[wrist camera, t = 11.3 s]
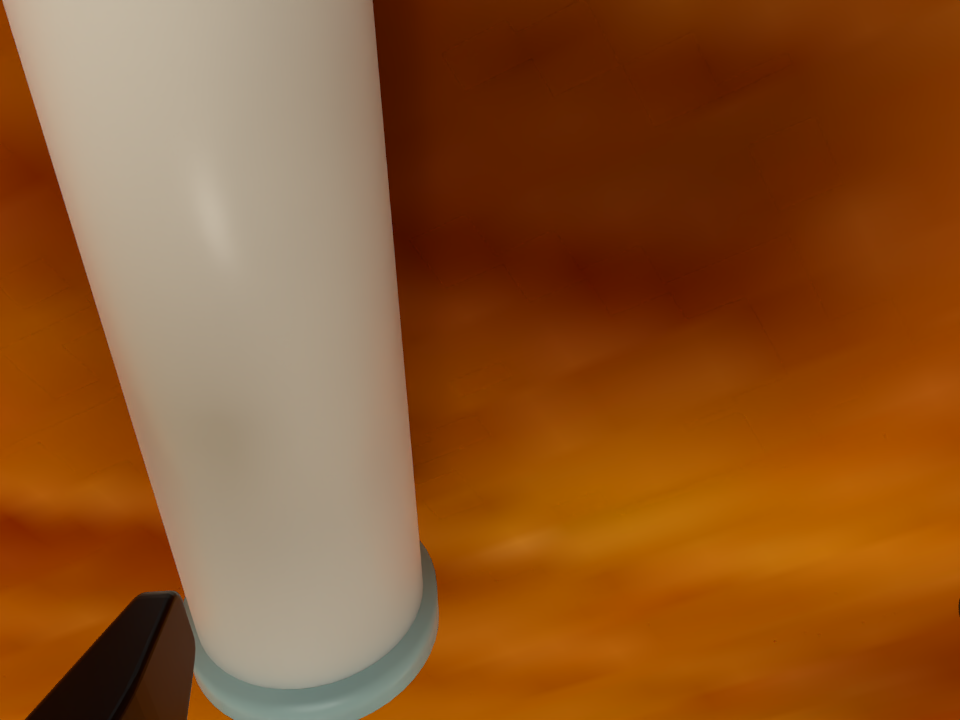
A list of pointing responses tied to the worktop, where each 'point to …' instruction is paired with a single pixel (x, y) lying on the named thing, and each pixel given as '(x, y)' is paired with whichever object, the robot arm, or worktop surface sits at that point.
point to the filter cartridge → (251, 326)
